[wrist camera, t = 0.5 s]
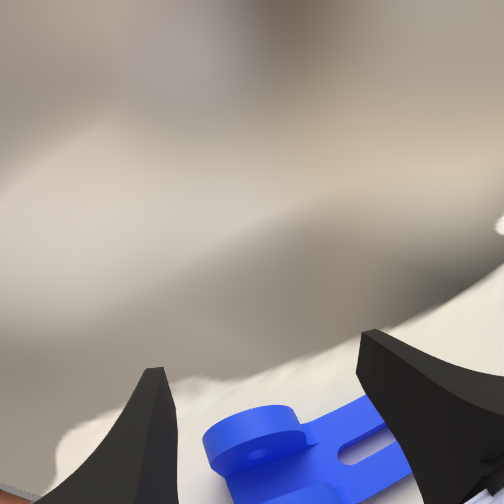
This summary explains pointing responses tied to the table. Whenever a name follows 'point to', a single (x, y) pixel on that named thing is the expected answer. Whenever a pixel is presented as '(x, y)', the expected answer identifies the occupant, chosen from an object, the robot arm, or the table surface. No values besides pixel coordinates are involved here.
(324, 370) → the table surface
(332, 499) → the bracket
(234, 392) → the table surface
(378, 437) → the table surface
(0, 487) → the box
